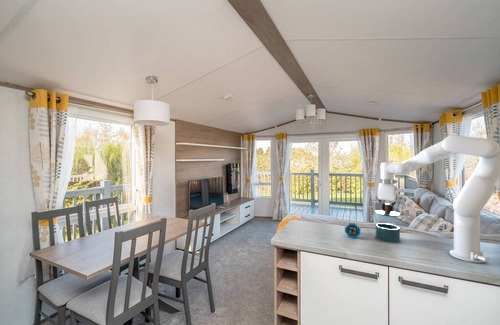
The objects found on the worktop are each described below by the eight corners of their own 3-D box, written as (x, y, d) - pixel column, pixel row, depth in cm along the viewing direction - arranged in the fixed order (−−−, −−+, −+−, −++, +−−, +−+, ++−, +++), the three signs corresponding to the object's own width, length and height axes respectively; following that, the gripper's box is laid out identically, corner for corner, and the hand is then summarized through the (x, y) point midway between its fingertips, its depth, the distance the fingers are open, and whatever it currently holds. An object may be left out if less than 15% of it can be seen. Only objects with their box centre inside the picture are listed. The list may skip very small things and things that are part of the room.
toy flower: (357, 237, 150) (361, 239, 134) (343, 235, 153) (345, 237, 137) (357, 223, 152) (360, 224, 136) (343, 222, 155) (344, 222, 139)
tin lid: (406, 216, 130) (406, 205, 130) (385, 217, 128) (385, 206, 128) (388, 211, 143) (388, 201, 143) (369, 212, 141) (369, 202, 141)
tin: (404, 242, 130) (404, 229, 130) (385, 244, 129) (385, 229, 129) (388, 235, 143) (388, 223, 143) (371, 236, 141) (371, 223, 141)
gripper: (404, 182, 131) (404, 212, 131) (376, 180, 144) (375, 208, 144) (400, 183, 127) (400, 214, 127) (370, 181, 139) (370, 209, 140)
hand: (387, 210), depth 136 cm, fingers closed on tin lid, 2 cm apart
